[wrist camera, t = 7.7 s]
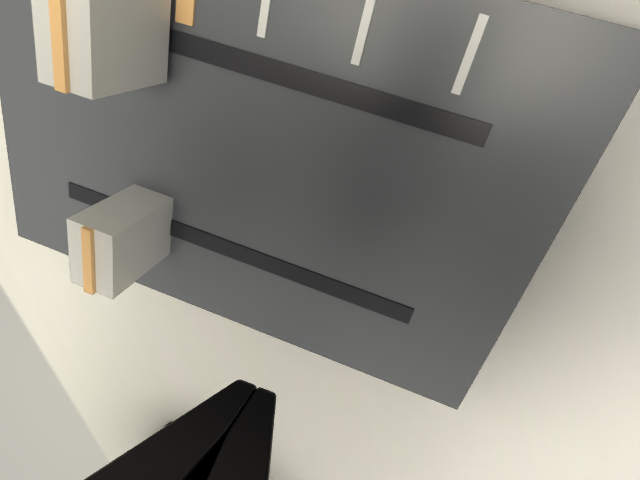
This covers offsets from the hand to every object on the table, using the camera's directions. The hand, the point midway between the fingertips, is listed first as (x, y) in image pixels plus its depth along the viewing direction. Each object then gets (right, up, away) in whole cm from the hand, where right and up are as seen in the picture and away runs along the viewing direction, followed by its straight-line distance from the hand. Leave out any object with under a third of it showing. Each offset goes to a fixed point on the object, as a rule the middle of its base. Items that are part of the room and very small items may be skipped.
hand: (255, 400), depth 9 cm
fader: (-5, +11, +8) cm, 14 cm away
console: (-1, +7, +11) cm, 13 cm away
